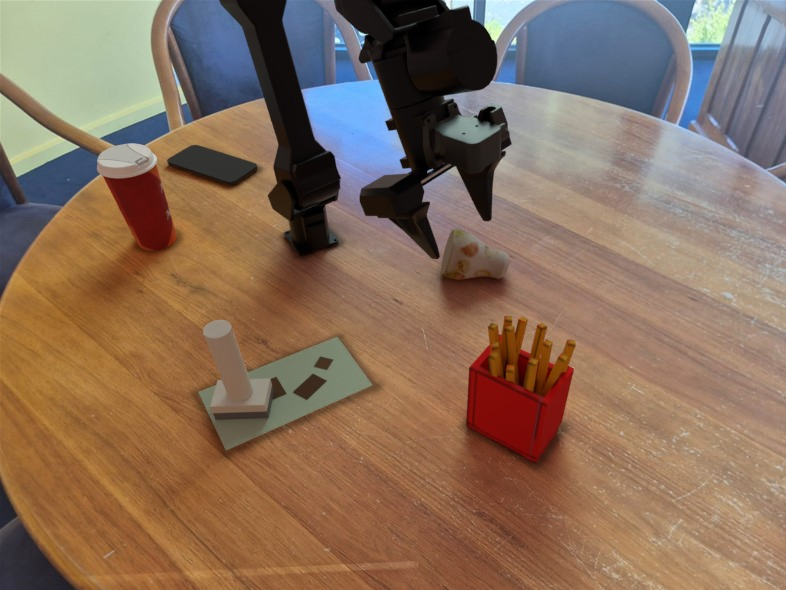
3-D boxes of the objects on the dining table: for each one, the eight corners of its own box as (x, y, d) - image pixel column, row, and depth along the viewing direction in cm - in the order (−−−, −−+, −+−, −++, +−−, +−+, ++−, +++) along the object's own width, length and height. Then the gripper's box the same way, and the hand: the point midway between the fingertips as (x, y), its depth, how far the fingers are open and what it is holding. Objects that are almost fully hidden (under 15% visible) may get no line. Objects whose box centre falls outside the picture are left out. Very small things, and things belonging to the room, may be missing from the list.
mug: (514, 291, 89) (485, 249, 82) (455, 304, 93) (422, 265, 86) (517, 250, 93) (489, 207, 85) (459, 265, 97) (428, 224, 90)
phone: (231, 183, 105) (163, 160, 109) (232, 187, 106) (165, 165, 110) (259, 164, 110) (193, 143, 114) (260, 168, 110) (195, 147, 114)
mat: (198, 394, 74) (197, 391, 73) (337, 338, 81) (337, 335, 81) (226, 452, 68) (225, 450, 68) (373, 387, 75) (372, 384, 75)
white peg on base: (215, 420, 71) (181, 343, 62) (222, 393, 73) (191, 316, 64) (268, 418, 71) (243, 341, 62) (274, 391, 74) (250, 314, 65)
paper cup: (195, 233, 96) (166, 149, 86) (158, 260, 91) (123, 174, 81) (156, 220, 98) (123, 136, 88) (118, 245, 93) (79, 160, 83)
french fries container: (495, 390, 76) (504, 304, 66) (562, 424, 72) (582, 338, 62) (464, 429, 71) (468, 343, 61) (534, 466, 68) (550, 381, 58)
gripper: (402, 126, 52) (460, 286, 60) (530, 58, 62) (565, 202, 70) (329, 137, 60) (388, 277, 68) (453, 74, 70) (492, 203, 78)
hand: (462, 238), depth 71 cm, fingers open, 9 cm apart
